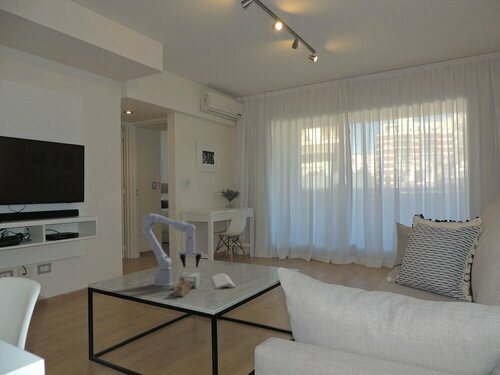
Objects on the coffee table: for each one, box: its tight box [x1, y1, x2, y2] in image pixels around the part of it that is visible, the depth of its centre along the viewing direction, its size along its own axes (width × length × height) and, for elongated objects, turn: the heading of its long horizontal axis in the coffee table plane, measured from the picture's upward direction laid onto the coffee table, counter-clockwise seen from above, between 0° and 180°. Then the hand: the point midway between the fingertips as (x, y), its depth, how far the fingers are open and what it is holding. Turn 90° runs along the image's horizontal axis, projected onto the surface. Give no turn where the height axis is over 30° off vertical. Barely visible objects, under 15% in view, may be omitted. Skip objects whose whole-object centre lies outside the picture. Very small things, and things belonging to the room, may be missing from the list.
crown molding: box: [210, 272, 237, 290], centre depth 215 cm, size 29×12×4 cm, turn 12°
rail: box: [175, 283, 194, 298], centre depth 199 cm, size 3×30×1 cm, turn 175°
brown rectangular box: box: [173, 280, 191, 297], centre depth 191 cm, size 5×12×5 cm, turn 175°
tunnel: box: [178, 272, 201, 289], centre depth 207 cm, size 10×10×7 cm
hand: (190, 267), depth 213 cm, fingers open, 7 cm apart
